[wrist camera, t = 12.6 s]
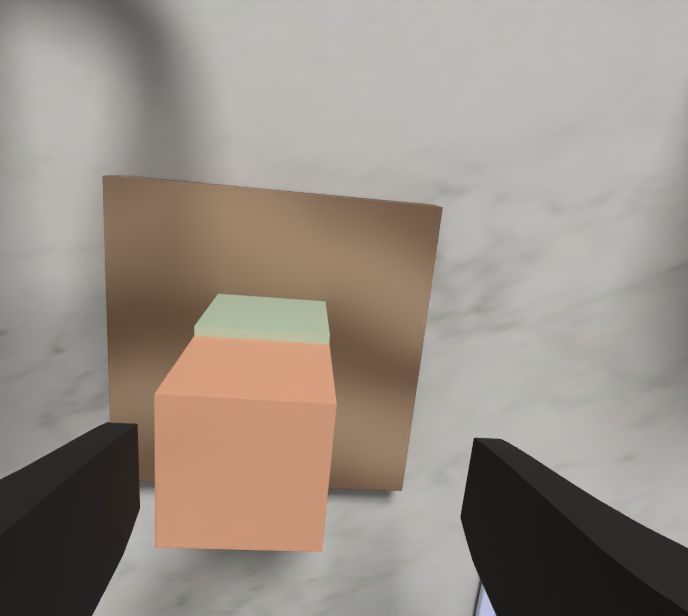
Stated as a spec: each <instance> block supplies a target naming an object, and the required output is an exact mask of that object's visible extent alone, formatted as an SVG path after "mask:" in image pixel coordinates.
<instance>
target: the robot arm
mask: <svg viewBox="0 0 688 616" xmlns="http://www.w3.org/2000/svg"><path fill="white" fill-rule="evenodd" d="M139 510H140V492H139V451H138V424H134V423H111V422H107V423H105V424H103V425H100V426H98V427H96V428H94V429H93V430H91V431H89V432H87V433H85V434H83V435H81V436H80V437H78V438H76V439H74V440H72V441H71V442H69V443H67V444H65V445H64V446H62V447H60V448H58V449H56V450H55V451H53V452H51V453H49V454H47V455H46V456H44V457H42V458H40V459H38V460H37V461H35V462H33V463H31V464H29V465H28V466H26V467H24V468H22V469H20V470H18V471H16V472H14V473H12V474H10V475H8V476H6V477H4V478H2V479H0V616H92V615H93V613H94V611H95V609H96V607H97V605H98V603H99V601H100V599H101V597H102V595H103V594H104V592H105V590H106V588H107V586H108V584H109V582H110V580H111V578H112V576H113V574H114V572H115V570H116V568H117V566H118V564H119V562H120V560H121V558H122V556H123V554H124V551H125V549H126V546H127V543H128V541H129V538H130V535H131V533H132V530H133V527H134V524H135V521H136V518H137V515H138V513H139ZM460 518H461V521H462V525H463V529H464V533H465V536H466V540H467V543H468V547H469V550H470V553H471V557H472V560H473V563H474V565H475V568H476V570H477V572H478V575H479V577H480V580H481V582H482V585H481V590H480V595H479V599H478V604H477V609H476V614H475V616H688V548H686V547H684V546H683V545H681V544H679V543H677V542H675V541H673V540H671V539H669V538H667V537H665V536H663V535H661V534H659V533H657V532H655V531H653V530H651V529H649V528H647V527H645V526H643V525H641V524H640V523H638V522H636V521H634V520H632V519H631V518H629V517H627V516H625V515H624V514H622V513H620V512H619V511H617V510H615V509H613V508H612V507H610V506H608V505H607V504H605V503H603V502H601V501H600V500H598V499H596V498H595V497H593V496H592V495H590V494H588V493H587V492H585V491H584V490H582V489H580V488H579V487H577V486H576V485H574V484H572V483H571V482H569V481H568V480H566V479H565V478H563V477H562V476H560V475H559V474H557V473H555V472H554V471H552V470H551V469H549V468H548V467H546V466H545V465H543V464H542V463H540V462H539V461H537V460H536V459H534V458H532V457H531V456H529V455H528V454H526V453H525V452H523V451H521V450H520V449H518V448H517V447H515V446H513V445H512V444H510V443H508V442H506V441H504V440H502V439H491V438H474V441H473V447H472V452H471V458H470V464H469V470H468V476H467V482H466V487H465V493H464V499H463V505H462V511H461V517H460Z"/></svg>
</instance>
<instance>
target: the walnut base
mask: <svg viewBox="0 0 688 616" xmlns="http://www.w3.org/2000/svg"><path fill="white" fill-rule="evenodd" d="M103 206H104V237H105V269H106V301H107V333H108V365H109V396H110V422H111V423H134V424H138V451H139V481H155V420H154V394H155V392H156V391H157V389H158V388H159V387H160V385H161V384H162V382H163V381H164V379H165V378H166V376H167V375H168V373H169V372H170V371H171V369H172V368H173V366H174V365H175V363H176V362H177V360H178V359H179V357H180V356H181V355H182V353H183V352H184V350H185V349H186V347H187V346H188V344H189V343H190V341H191V340H192V339H193V337H194V326H195V325H196V323H197V322H198V321H199V319H200V318H201V317H202V315H203V314H204V312H205V311H206V310H207V308H208V307H209V306H210V304H211V303H212V301H213V300H214V299H215V297H216V296H217V295H218V294H229V295H243V296H257V297H271V298H285V299H299V300H313V301H325V302H326V310H327V317H328V325H329V332H330V340H329V346H330V354H331V362H332V370H333V378H334V386H335V394H336V402H337V406H336V416H335V427H334V437H333V447H332V457H331V467H330V477H329V487H328V488H340V489H365V490H391V491H402V487H403V480H404V473H405V466H406V459H407V452H408V445H409V438H410V431H411V424H412V417H413V410H414V403H415V396H416V389H417V383H418V376H419V369H420V362H421V355H422V348H423V341H424V334H425V327H426V320H427V313H428V306H429V299H430V292H431V285H432V278H433V271H434V264H435V257H436V250H437V243H438V236H439V229H440V222H441V216H442V209H443V207H439V206H436V205H431V204H420V203H409V202H399V201H388V200H377V199H367V198H356V197H345V196H335V195H324V194H313V193H303V192H292V191H281V190H270V189H260V188H249V187H238V186H228V185H217V184H206V183H196V182H185V181H174V180H164V179H153V178H142V177H132V176H121V175H109V176H103Z"/></svg>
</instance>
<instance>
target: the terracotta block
mask: <svg viewBox="0 0 688 616" xmlns="http://www.w3.org/2000/svg"><path fill="white" fill-rule="evenodd" d="M336 406H337V402H336V394H335V386H334V378H333V370H332V362H331V354H330V346H329V344H317V343H302V342H287V341H271V340H256V339H241V338H226V337H211V336H194V337H193V339H192V340H191V341H190V343H189V344H188V346H187V347H186V349H185V350H184V352H183V353H182V355H181V356H180V357H179V359H178V360H177V362H176V363H175V365H174V366H173V368H172V369H171V371H170V372H169V373H168V375H167V376H166V378H165V379H164V381H163V382H162V384H161V385H160V387H159V388H158V389H157V391H156V392H155V394H154V420H155V547H161V548H198V549H235V550H272V551H309V552H322V548H323V537H324V527H325V517H326V507H327V497H328V487H329V477H330V467H331V457H332V447H333V437H334V427H335V416H336Z"/></svg>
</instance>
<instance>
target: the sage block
mask: <svg viewBox="0 0 688 616" xmlns="http://www.w3.org/2000/svg"><path fill="white" fill-rule="evenodd" d="M194 336H211V337H226V338H241V339H256V340H271V341H287V342H302V343H317V344H329V340H330V332H329V325H328V317H327V310H326V302H325V301H313V300H299V299H285V298H271V297H257V296H243V295H229V294H218V295H217V296H216V297H215V299H214V300H213V301H212V303H211V304H210V306H209V307H208V308H207V310H206V311H205V312H204V314H203V315H202V317H201V318H200V319H199V321H198V322H197V323H196V325H195V326H194Z"/></svg>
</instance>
